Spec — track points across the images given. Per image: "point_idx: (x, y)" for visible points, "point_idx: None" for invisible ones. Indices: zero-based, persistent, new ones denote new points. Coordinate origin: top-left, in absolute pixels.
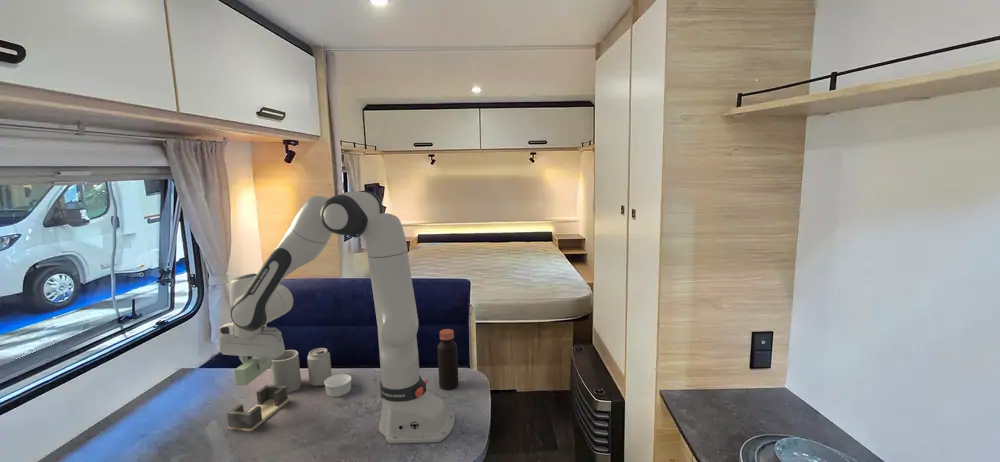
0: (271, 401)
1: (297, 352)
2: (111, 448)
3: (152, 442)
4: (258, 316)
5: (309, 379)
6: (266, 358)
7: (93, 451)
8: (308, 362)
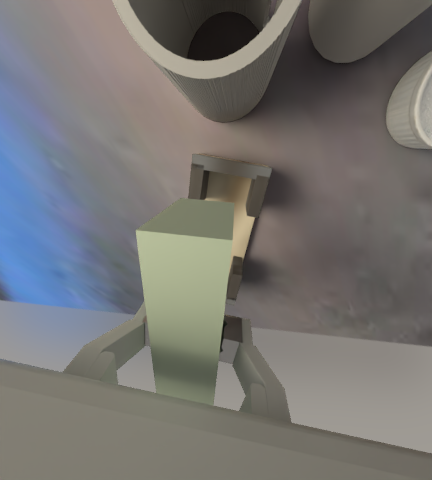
0: (224, 181)
1: None
2: (49, 297)
3: (91, 291)
4: None
5: (317, 29)
6: (277, 387)
7: (33, 300)
8: None
